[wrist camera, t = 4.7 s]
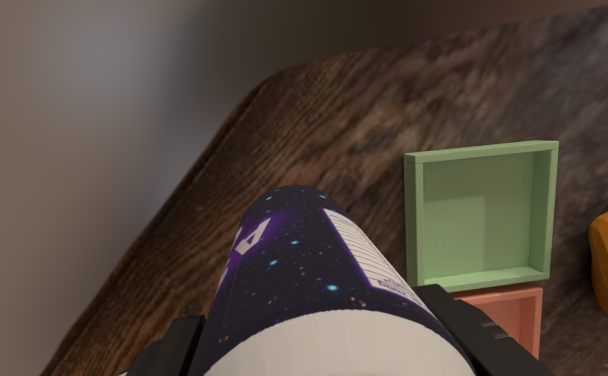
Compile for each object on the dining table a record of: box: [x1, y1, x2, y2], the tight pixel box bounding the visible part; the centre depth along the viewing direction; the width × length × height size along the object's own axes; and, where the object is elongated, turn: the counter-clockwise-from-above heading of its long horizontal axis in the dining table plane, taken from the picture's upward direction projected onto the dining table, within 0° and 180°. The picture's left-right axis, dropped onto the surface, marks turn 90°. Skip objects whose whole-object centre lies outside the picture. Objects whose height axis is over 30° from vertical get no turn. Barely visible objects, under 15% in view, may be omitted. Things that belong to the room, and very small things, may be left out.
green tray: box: [403, 140, 559, 293], centre depth 24 cm, size 11×11×2 cm
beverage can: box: [187, 185, 477, 376], centre depth 10 cm, size 6×6×12 cm
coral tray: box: [449, 281, 543, 360], centre depth 27 cm, size 10×10×2 cm
